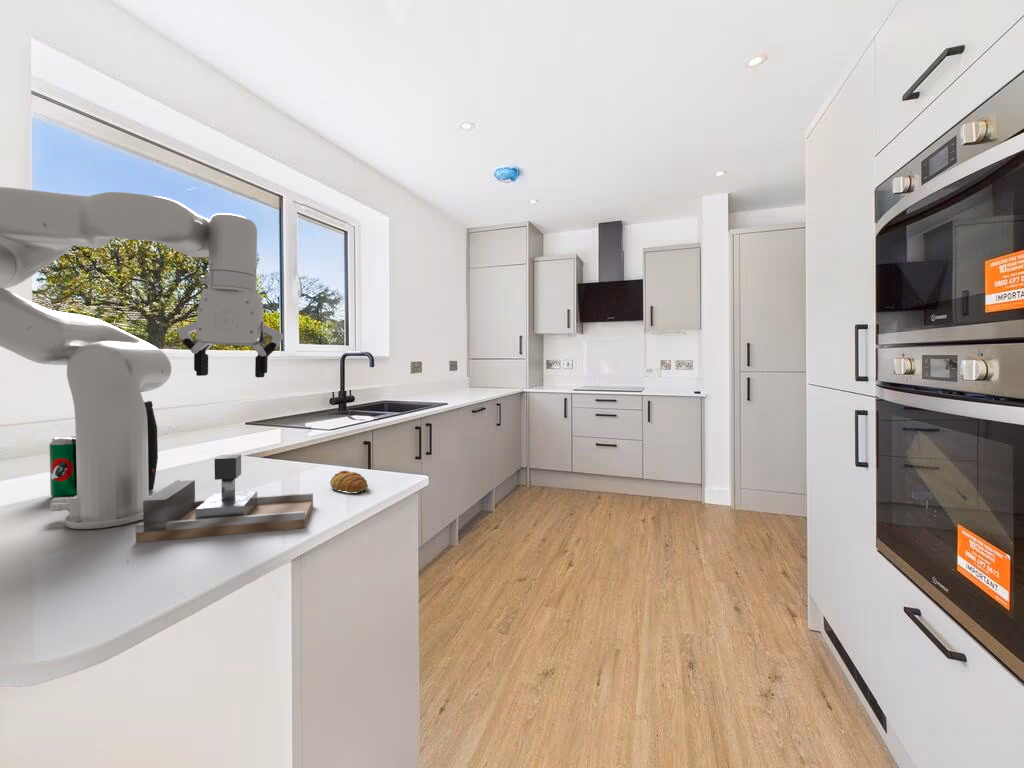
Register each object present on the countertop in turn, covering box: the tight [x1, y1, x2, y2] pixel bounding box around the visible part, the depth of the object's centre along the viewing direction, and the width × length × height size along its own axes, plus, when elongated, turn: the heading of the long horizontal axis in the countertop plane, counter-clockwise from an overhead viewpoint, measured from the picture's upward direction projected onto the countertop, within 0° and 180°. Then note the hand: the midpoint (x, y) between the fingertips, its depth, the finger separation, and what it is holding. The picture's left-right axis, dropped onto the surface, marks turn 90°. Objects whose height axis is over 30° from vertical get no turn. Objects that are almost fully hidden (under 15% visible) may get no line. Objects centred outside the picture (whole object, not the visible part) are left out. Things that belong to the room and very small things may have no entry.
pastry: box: [329, 470, 369, 493], centre depth 100 cm, size 9×7×4 cm
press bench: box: [135, 479, 314, 543], centre depth 78 cm, size 24×12×6 cm, turn 108°
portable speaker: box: [144, 400, 159, 491], centre depth 93 cm, size 9×9×20 cm
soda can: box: [48, 435, 77, 498], centre depth 91 cm, size 5×5×12 cm
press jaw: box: [195, 454, 258, 519], centre depth 77 cm, size 7×9×10 cm
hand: (231, 376), depth 82 cm, fingers open, 9 cm apart
